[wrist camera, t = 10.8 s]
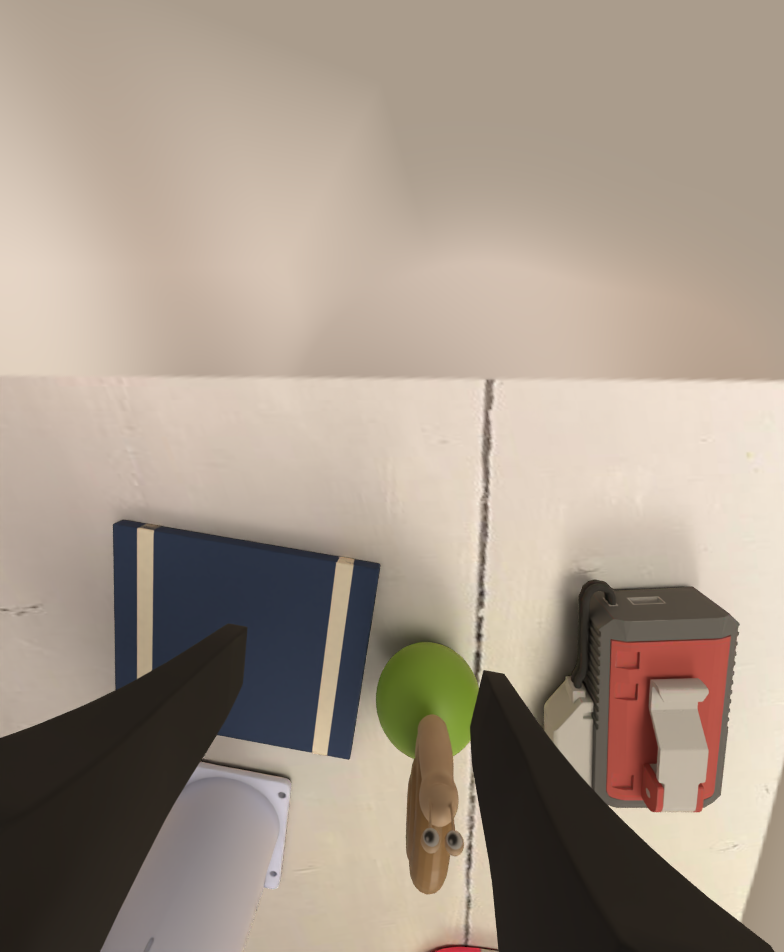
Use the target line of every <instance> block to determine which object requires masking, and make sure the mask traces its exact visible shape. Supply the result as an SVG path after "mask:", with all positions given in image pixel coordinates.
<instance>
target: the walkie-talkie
mask: <svg viewBox="0 0 784 952" xmlns="http://www.w3.org/2000/svg"><path fill="white" fill-rule="evenodd" d="M739 625H740V624H739V623H738V622H737V621H736V620H735V619H734V618H733V617H732V616H731V615H730V614H729V613H728V612H726V611H725V610H724V609H722V608H721V607H720V606H718V605H717V604H716V603H714V602H713V601H712V600H710V599H709V598H707V597H706V596H705V595H703V594H702V593H701V592H699V591H698V590H697V589H695V588H694V587H680V588H658V589H637V590H615V591H613V589H612V588H611V587H610V586H609V585H608V584H607V583H606V582H604V581H599V580H591V581H588V582H587V583H586V584H584V585H583V586H582V589H581V592H580V594H579V615H578V660H577V665H576V667H575V669H574V670H573V672H572V675H571V676H565V681H564V682H563V683H562V684H561V685H560V687H559V688H558V689H557V690H556V691H555V692H554V693H553V695H552V696H551V697H550V698H549V699H548V700H547V701H546V703H545V705H544V731H545V732H546V734H547V735H548V736H549V738H550V739H551V740H552V741H553V743H554V744H555V745H556V747H557V748H558V749H559V750H560V752H561V753H562V754H563V755H564V756H565V758H566V759H567V760H568V761H569V762H570V764H571V765H572V766H573V767H574V769H575V770H576V771H577V772H578V773H579V774H580V776H581V777H582V778H583V779H584V780H585V781H586V782H587V784H588V785H589V786H590V787H591V788H592V789H593V790H594V791H595V792H596V793H597V794H598V795H599V796H600V798H601V799H602V800H603V801H604V802H605V803H606V804H607V805H610V806H612V807H616V808H649V810H650V811H652V812H700V811H702V808H704V807H706V806H708V805H709V804H711V803H713V802H714V801H715V800H716V799H717V798H718V797H719V796H720V795H721V787H722V778H723V769H724V760H725V751H726V742H727V733H728V727H727V722H728V721H729V718H728V713H729V712H730V709H729V704H730V703H731V699H730V695H731V694H732V690H731V685H732V684H733V681H732V676H733V675H734V671H733V667H734V665H735V661H734V658H735V656H736V651H735V649H736V646H737V643H738V642H736V640H737V636H738V635H739V632H738V626H739Z"/></svg>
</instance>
